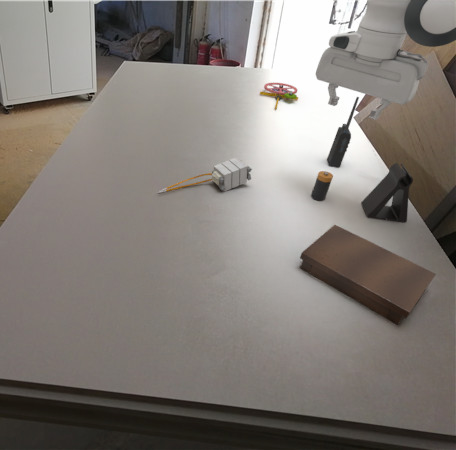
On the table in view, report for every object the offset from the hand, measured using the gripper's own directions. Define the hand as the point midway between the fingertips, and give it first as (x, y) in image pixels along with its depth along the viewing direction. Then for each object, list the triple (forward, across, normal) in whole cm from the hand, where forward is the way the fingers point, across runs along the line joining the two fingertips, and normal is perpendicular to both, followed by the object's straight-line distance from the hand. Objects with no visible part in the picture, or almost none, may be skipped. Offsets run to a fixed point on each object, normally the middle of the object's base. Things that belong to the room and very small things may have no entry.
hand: (352, 111), depth 89 cm
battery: (+22, 0, +1) cm, 22 cm away
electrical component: (+23, +21, +21) cm, 38 cm away
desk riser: (+22, -20, +22) cm, 37 cm away
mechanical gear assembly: (+23, +48, -56) cm, 77 cm away
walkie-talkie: (+22, +6, -20) cm, 31 cm away
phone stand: (+22, -14, -5) cm, 27 cm away
